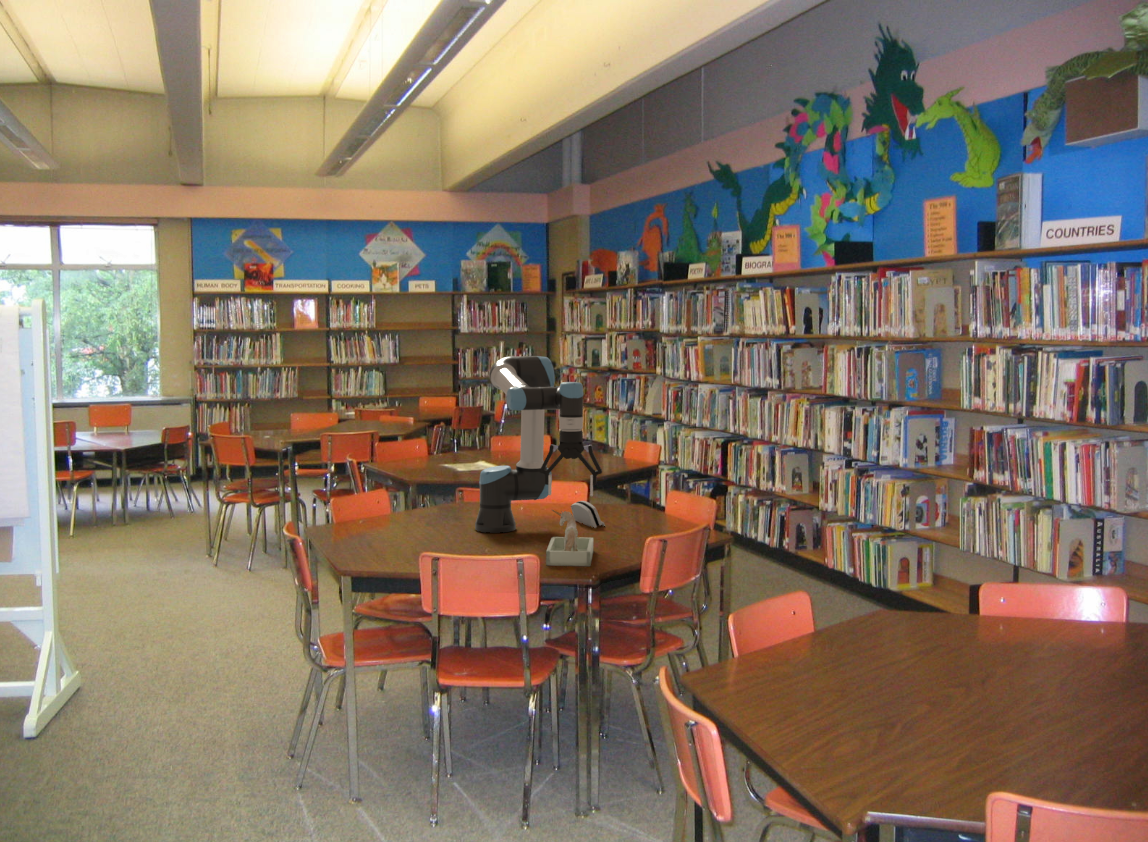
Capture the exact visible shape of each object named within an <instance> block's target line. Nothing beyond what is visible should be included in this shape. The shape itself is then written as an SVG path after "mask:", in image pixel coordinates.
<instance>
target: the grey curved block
mask: <svg viewBox="0 0 1148 842" xmlns="http://www.w3.org/2000/svg"><path fill="white" fill-rule="evenodd" d="M570 509H571V512H572V513H571V514H572V515H573V517H574V518H575V522H576V523H577V522H578V523H580V524H582V523H583V524H582V525H585V526H587V527H590V526H591V528H593V527H594V528H593V529H596V528H597V527H598V526H601V525H602V526H601V527H603V526H605V527H606V525H605V522H604V521H602V520H601V518H600V515H599V513H598V509H597V508H596V506H594V505H593V504H592V503H590V502H589V501H586V500H579V501H576V502H574V503H573V504H571V505H570Z"/></svg>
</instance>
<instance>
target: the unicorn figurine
mask: <svg viewBox="0 0 1148 842" xmlns="http://www.w3.org/2000/svg"><path fill="white" fill-rule="evenodd" d="M551 511H552V512H554V513H555V514H557V515H559V516H560V519H559V522H558V523H559V526H560V527H561V526H564V524H565V522H566V523H567V524H566V526H565V530H564V537H565V541H564V550H563V551H571V548H572V546H573V551H578V550H577V547H578V546H577V537H578V536H579V535H578V534H579V532H578V529H577V522H576V521H575V518H574V517H573V513H571V511H566V510H565V511H561V513H560V512H558V511H556V510H553V509H551Z"/></svg>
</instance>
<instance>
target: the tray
mask: <svg viewBox="0 0 1148 842" xmlns="http://www.w3.org/2000/svg"><path fill="white" fill-rule="evenodd" d="M564 541H565V536H552V537H551V538H550V541H549V543H548V546H547V549H546V551H545V565H546V566H551V567H552V566H554V567H555V566H556V567H560V566H561V567H564V566H565V567H591V566H592V565H591V564H592V560H593V554H594V537H578V536H577V546H578V547H577V550H578V551H573V546H572V548H571V551H563V550H564Z"/></svg>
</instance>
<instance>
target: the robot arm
mask: <svg viewBox="0 0 1148 842" xmlns="http://www.w3.org/2000/svg"><path fill="white" fill-rule="evenodd" d="M488 375H489V376H488V377H489V381H490V383H491V385H492V386H493V387H494V388H496V389H498V390H500V391H502V392H503V393H504V394H505V395H506V404H507V408H508V409H509V410H511V411H518V412H519V411H521V415H520V416H521V420H520V458H519V459H520V460H519V461H518V462H517V463H515V464H516V465H515V469H512V467H511V466H510V465H497V466H496V465H495V466H491V467H486V468H484V469H482V470H481V471H480V474H479V481H478V484H479V510H478V513H477V517H476V520H475V524H474V529H475V530H474V531H476V530H477V532H479V531H481V533H486V532H490V533H489V534H500V532H503V533H509V532H513V531H515V530H516V524H517V523H516V521H515V517H514V514H513V510H512V502H514V501H532V500H533V501H537V500H544V499H547V498H548V497H549V496H552V483H553V477H552V475H553V474H552V471H553V470H554V469H555V467H557V465H558V464H559V463H560V461H562V459H563V458H564V459H566V460H569V459H571V460H576V459H578V460H579V461H580V462H581V463H582V464H583V465H584V466H585V467H586V469H587V470H588V471H589V472H590V473H591V474H590V475H589V478H590V479H589V480H590V483H589V484H590V485H589V489H590V490H589V491H590V492H589V493H590V494H589V496H590V497H593V496H594V486H596V485H597V483H598V482H597V481H598V480H597V477H598V475H602V473H603V469H602V468H601V465H600V464H599V461H598V458H597V457H596V455H595V453H594V450H593V445H592V444H589V445H584V443H583V440H584V439H583V438H584V437H583V436H584V435H583V434H584V432H583V428H584V425H583V424H584V387H583V384H582V383H581V382H579V381H578V382H576V381H564V382H563V381H562V382H561V383H560V384H559V385H556V386H555V382H556V379H555V377H556V375H555V369H554V365H553V363H552V360H551V359H550V358H549V357H547V356H540V355H526V356H525V355H524V356H522V355H521V356H520V355H519V356H515V355H512V356H511V355H510V356H504V357H502V358H499V359H498V360H496V361H495V362H494V363H493V364H492V365H491V367H490V370H489V371H488ZM546 410H549V411H550V410H559V429H560V430H559V444H558V445H557V444H556V445H555V444H554V443H553V444H550V445H549V448H548V449H549V451H548V453H547V456H546V457H545V459H544V445H545V444H544V442H545V441H544V439H545V438H544V437H545V411H546ZM556 450H558V451H559V453H560V455H559V456H557V458H556V459H554V461H553V463H551V465H549V467H548V463H549V461H550V459H551V457H552V456H553V453H554V452H556ZM584 450H585V451H586V453H588V454H589V456H590V459H591V460H592V463H593V465H594V467H595V468H594V467H593V466H592V465H591V464H590V463H589V461H588V460H587V459H586V458H585V456H584V455H583V452H584Z"/></svg>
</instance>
